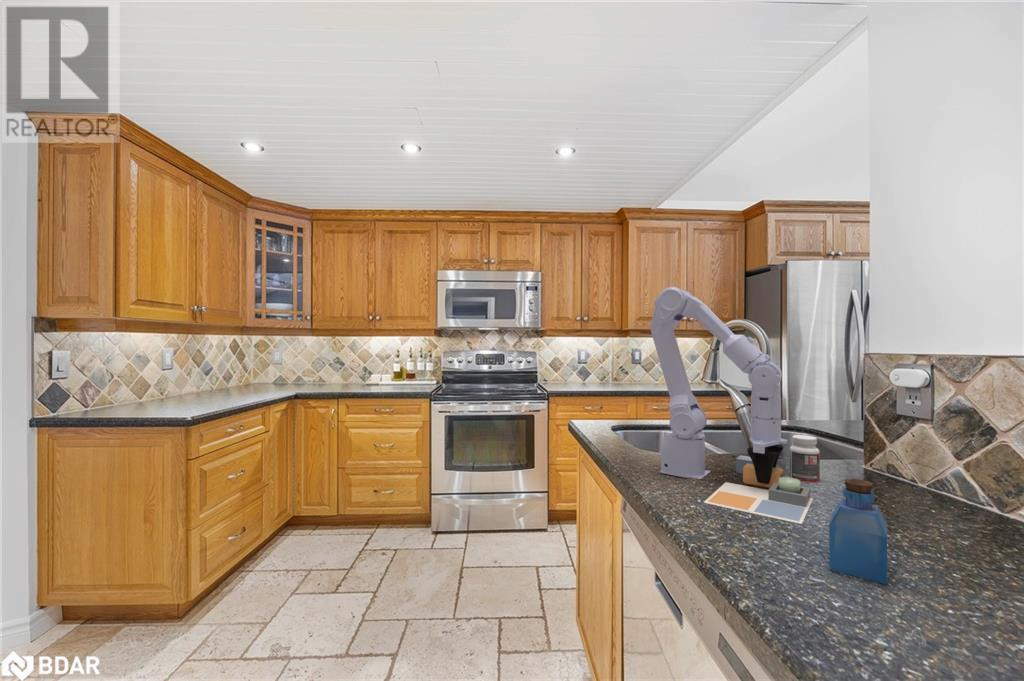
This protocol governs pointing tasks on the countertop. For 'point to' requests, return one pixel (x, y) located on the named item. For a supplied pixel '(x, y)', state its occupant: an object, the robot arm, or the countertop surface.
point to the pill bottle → (805, 459)
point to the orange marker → (750, 478)
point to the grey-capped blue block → (743, 463)
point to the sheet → (756, 502)
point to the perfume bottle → (858, 534)
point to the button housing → (789, 496)
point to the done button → (789, 484)
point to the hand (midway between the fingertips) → (765, 480)
